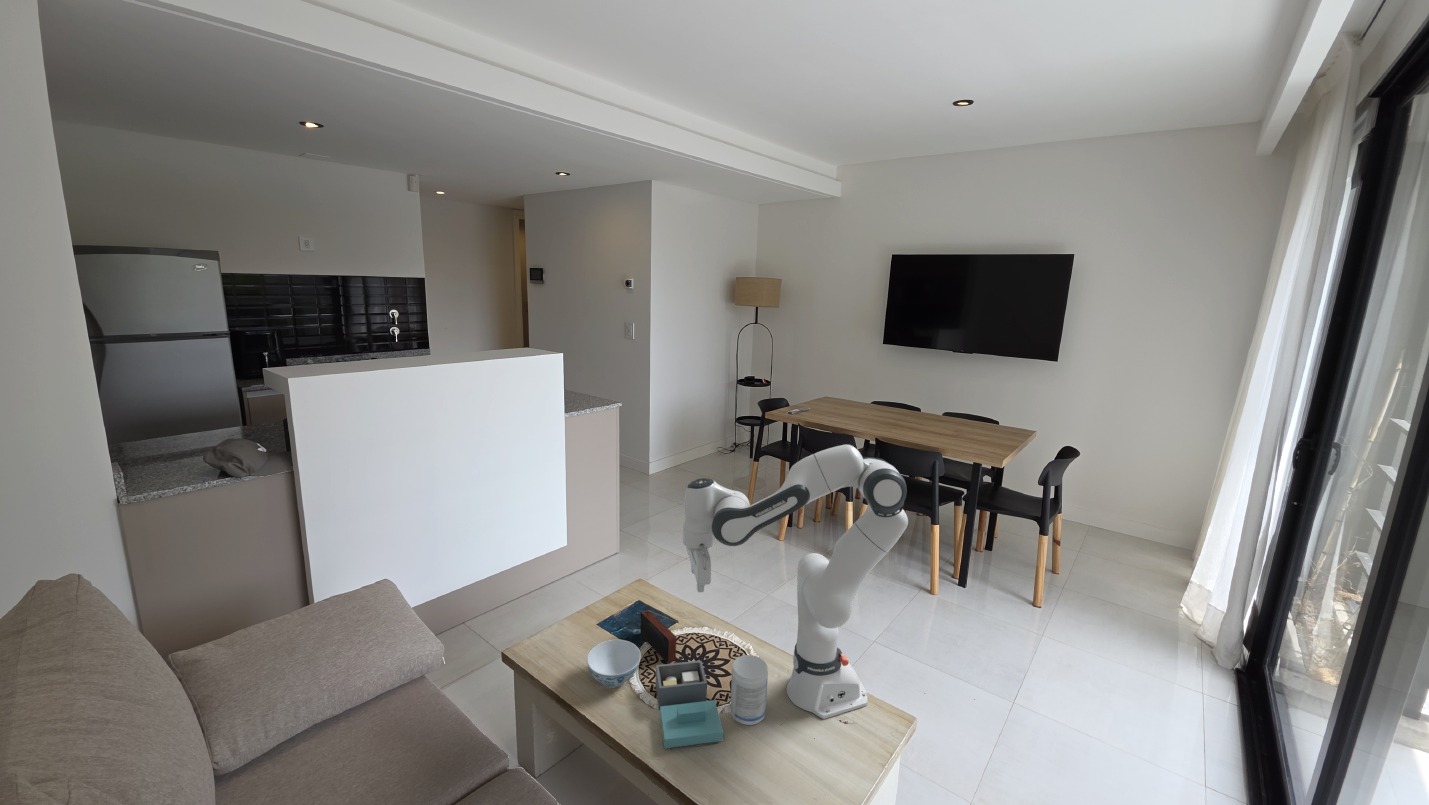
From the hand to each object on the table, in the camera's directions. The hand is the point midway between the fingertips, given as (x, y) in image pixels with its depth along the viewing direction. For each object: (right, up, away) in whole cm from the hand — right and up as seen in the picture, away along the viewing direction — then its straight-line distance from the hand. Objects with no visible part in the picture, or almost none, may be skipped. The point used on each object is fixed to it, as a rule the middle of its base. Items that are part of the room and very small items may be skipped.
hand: (697, 581), depth 158 cm
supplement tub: (+14, -34, -5) cm, 37 cm away
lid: (-1, -34, -11) cm, 36 cm away
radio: (-13, -27, +18) cm, 35 cm away
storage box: (-5, -32, 0) cm, 32 cm away
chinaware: (-24, -30, +5) cm, 39 cm away
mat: (-1, -35, -11) cm, 37 cm away
